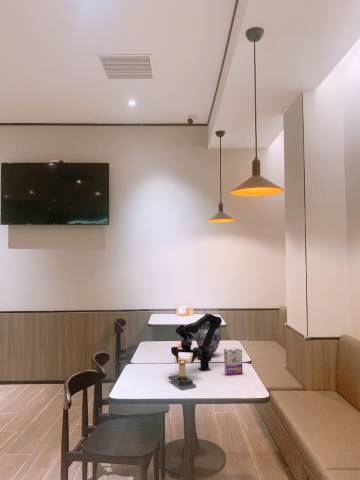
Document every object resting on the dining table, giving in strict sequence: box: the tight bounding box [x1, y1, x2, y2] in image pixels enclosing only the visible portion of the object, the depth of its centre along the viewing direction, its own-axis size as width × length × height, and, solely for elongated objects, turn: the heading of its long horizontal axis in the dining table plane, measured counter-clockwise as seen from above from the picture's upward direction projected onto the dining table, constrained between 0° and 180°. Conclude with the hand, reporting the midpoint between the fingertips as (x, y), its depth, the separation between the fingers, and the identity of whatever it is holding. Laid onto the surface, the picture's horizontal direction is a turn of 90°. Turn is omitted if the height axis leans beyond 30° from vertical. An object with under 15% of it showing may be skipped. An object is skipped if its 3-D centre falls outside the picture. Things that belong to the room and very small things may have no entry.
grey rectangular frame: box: [168, 374, 197, 391], centre depth 219 cm, size 18×10×3 cm, turn 25°
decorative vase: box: [194, 321, 222, 359], centre depth 285 cm, size 21×19×28 cm
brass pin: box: [177, 359, 187, 381], centre depth 219 cm, size 5×5×14 cm
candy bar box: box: [223, 347, 243, 377], centre depth 238 cm, size 11×5×16 cm, turn 101°
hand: (184, 363), depth 226 cm, fingers open, 9 cm apart
